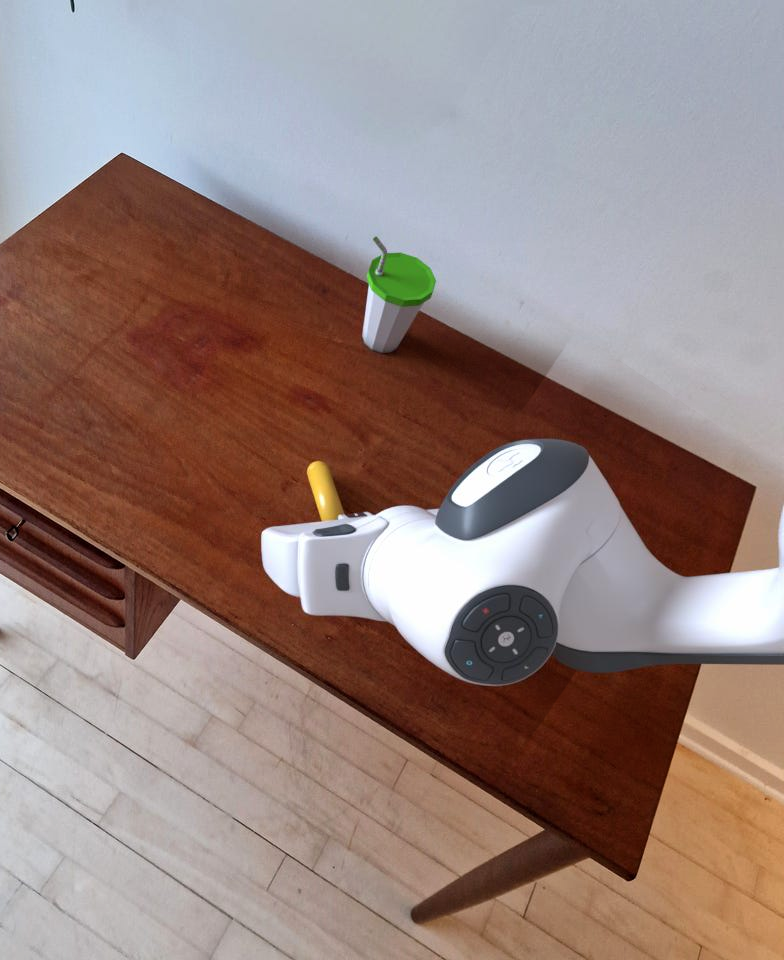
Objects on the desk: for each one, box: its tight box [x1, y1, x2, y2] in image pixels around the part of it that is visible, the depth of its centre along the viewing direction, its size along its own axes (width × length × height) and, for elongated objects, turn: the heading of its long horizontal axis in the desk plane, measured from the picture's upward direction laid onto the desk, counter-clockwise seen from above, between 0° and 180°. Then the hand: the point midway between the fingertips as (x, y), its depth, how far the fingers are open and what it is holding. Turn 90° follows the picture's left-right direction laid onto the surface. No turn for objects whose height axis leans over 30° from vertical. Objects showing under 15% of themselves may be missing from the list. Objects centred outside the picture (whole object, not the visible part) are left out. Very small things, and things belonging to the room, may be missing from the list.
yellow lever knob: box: [306, 460, 345, 521], centre depth 85 cm, size 5×5×14 cm
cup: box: [361, 236, 437, 354], centre depth 97 cm, size 8×8×15 cm
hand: (352, 521), depth 80 cm, fingers closed
